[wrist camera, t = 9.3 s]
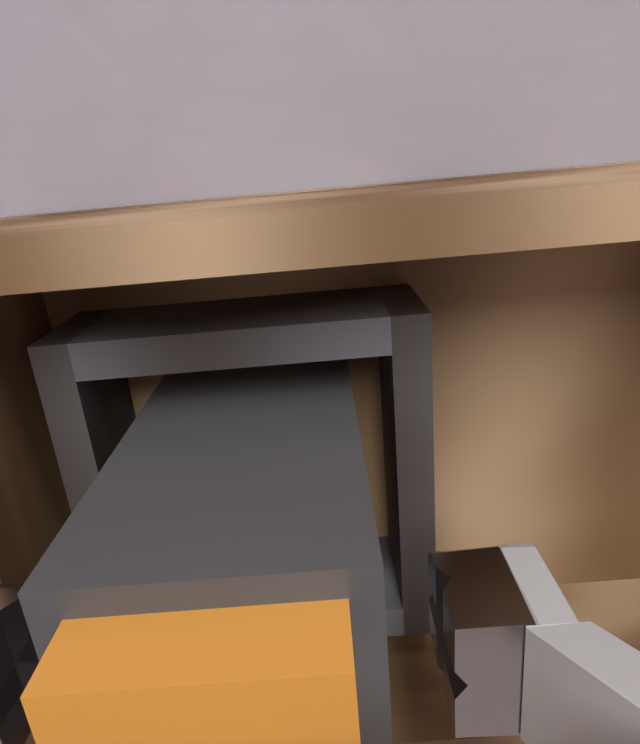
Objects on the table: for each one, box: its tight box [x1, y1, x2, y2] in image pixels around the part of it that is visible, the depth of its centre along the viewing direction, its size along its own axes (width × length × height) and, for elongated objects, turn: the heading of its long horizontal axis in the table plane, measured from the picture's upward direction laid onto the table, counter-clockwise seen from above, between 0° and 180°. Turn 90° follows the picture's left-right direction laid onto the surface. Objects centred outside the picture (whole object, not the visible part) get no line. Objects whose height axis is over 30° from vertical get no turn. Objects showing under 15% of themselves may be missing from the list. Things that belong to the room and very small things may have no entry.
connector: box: [17, 359, 393, 744], centre depth 10 cm, size 4×4×8 cm
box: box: [0, 161, 640, 744], centre depth 12 cm, size 16×11×5 cm
